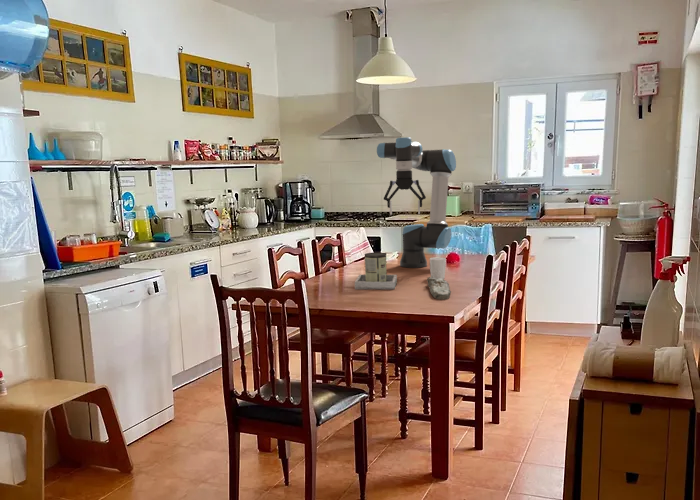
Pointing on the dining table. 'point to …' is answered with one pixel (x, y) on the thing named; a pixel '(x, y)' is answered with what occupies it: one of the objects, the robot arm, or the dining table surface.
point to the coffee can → (375, 267)
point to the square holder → (376, 283)
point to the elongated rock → (439, 288)
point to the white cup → (437, 267)
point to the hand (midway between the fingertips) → (404, 214)
